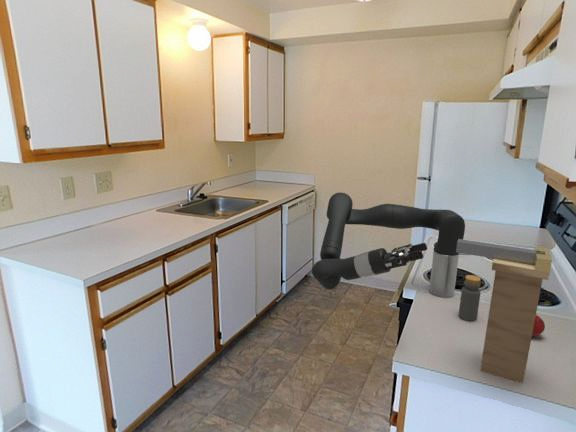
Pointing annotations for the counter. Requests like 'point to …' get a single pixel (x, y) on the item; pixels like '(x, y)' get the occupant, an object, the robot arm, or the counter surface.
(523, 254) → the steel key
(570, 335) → the counter surface
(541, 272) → the wooden stand
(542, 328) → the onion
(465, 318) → the bottle
